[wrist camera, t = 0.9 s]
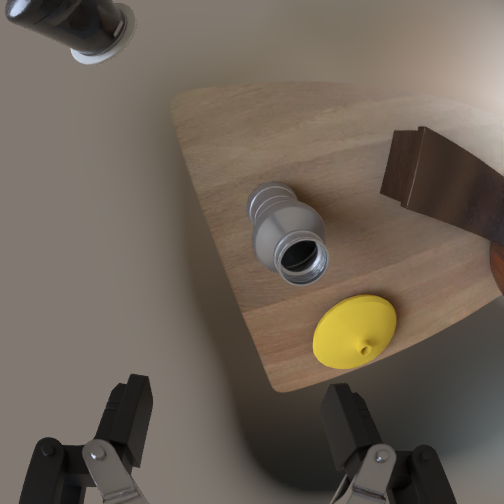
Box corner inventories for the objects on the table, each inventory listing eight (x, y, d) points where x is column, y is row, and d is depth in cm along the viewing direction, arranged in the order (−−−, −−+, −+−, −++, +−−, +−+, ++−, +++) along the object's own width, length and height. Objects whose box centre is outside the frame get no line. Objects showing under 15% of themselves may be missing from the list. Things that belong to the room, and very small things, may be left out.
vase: (306, 297, 43) (317, 323, 37) (393, 278, 43) (414, 298, 37) (309, 365, 49) (318, 392, 43) (384, 346, 49) (398, 369, 43)
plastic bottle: (303, 202, 38) (365, 259, 19) (268, 235, 39) (297, 319, 21) (271, 168, 36) (311, 194, 17) (235, 204, 37) (235, 265, 19)
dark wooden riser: (377, 195, 38) (457, 234, 21) (393, 126, 34) (481, 128, 17) (470, 229, 41) (536, 266, 24) (484, 176, 37) (554, 199, 20)
